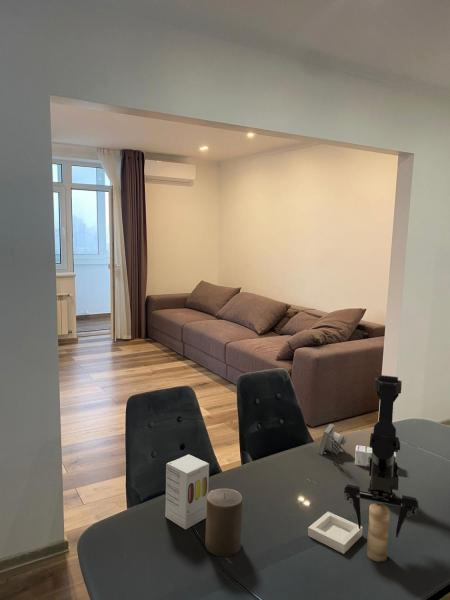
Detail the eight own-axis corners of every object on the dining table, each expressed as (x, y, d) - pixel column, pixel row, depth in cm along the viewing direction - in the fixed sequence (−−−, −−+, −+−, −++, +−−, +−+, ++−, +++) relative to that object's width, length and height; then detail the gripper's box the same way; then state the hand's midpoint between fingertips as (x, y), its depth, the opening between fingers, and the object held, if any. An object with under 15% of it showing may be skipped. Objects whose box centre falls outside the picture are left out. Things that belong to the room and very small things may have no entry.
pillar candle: (229, 562, 115) (231, 506, 113) (197, 548, 120) (199, 494, 118) (247, 542, 123) (249, 490, 121) (217, 530, 128) (219, 479, 127)
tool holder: (327, 519, 134) (327, 511, 134) (362, 535, 127) (362, 527, 127) (307, 535, 126) (308, 527, 126) (343, 553, 119) (344, 544, 118)
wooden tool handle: (377, 547, 122) (379, 501, 120) (390, 558, 117) (393, 511, 116) (362, 551, 120) (365, 505, 118) (375, 563, 115) (378, 515, 114)
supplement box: (185, 530, 127) (186, 473, 126) (164, 517, 133) (164, 463, 132) (208, 516, 134) (210, 462, 133) (187, 504, 140) (188, 453, 139)
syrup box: (395, 450, 170) (356, 444, 175) (396, 456, 165) (355, 450, 170) (394, 464, 171) (355, 458, 176) (395, 471, 165) (354, 464, 170)
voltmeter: (311, 446, 186) (312, 423, 185) (337, 445, 188) (338, 422, 187) (336, 477, 160) (337, 450, 159) (366, 476, 162) (367, 449, 161)
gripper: (346, 456, 123) (339, 515, 114) (420, 469, 117) (419, 533, 108) (348, 471, 132) (341, 527, 122) (417, 484, 125) (415, 544, 116)
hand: (377, 532), depth 117 cm, fingers open, 9 cm apart
